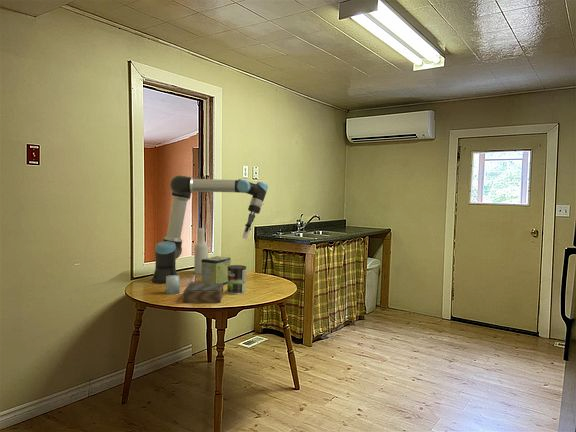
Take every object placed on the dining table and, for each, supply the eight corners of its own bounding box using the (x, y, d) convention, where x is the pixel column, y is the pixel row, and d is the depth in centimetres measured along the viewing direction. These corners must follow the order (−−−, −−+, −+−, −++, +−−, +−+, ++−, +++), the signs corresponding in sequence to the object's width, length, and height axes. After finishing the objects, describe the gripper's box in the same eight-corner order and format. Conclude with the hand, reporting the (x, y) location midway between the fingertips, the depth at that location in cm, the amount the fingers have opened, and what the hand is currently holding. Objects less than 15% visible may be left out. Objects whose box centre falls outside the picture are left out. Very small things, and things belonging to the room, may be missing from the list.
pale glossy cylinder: (164, 294, 225) (164, 277, 225) (167, 291, 232) (167, 275, 232) (178, 294, 226) (178, 277, 225) (180, 291, 233) (180, 275, 232)
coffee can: (234, 295, 226) (234, 268, 226) (223, 291, 234) (223, 266, 233) (249, 292, 233) (250, 266, 233) (238, 289, 241) (239, 264, 240)
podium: (183, 302, 209) (183, 290, 209) (188, 294, 227) (188, 283, 226) (220, 302, 210) (220, 290, 210) (223, 294, 228) (223, 283, 228)
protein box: (230, 282, 257) (231, 257, 257) (215, 287, 243) (216, 260, 243) (216, 281, 262) (216, 255, 261) (200, 285, 248) (201, 259, 247)
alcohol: (195, 272, 290) (195, 227, 288) (208, 272, 290) (208, 228, 289) (193, 274, 281) (193, 229, 279) (206, 274, 281) (207, 229, 280)
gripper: (261, 205, 257) (250, 238, 254) (260, 210, 282) (249, 241, 279) (249, 201, 257) (238, 234, 254) (249, 207, 281) (239, 237, 278)
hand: (244, 238), depth 266 cm, fingers open, 13 cm apart
